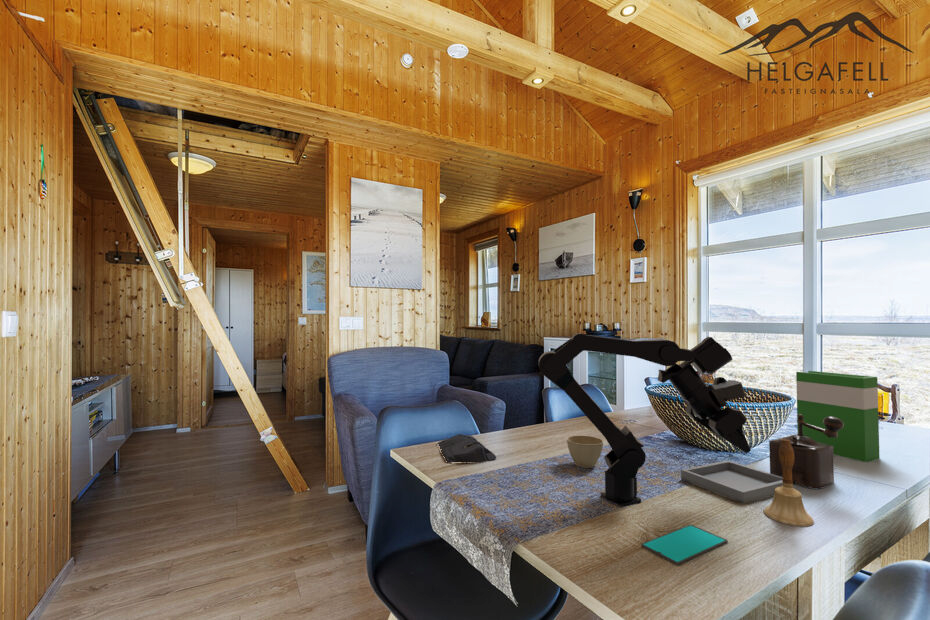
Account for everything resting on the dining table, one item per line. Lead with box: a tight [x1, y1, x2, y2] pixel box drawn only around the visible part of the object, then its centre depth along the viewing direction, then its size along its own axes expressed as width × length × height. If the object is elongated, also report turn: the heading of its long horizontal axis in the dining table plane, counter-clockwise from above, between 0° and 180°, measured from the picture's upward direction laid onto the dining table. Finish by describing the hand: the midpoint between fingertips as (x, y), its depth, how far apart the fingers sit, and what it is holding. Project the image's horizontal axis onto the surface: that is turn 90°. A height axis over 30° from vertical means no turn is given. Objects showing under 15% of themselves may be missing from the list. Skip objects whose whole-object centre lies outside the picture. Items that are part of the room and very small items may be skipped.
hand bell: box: [763, 439, 815, 527], centre depth 89 cm, size 8×8×16 cm
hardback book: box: [795, 370, 881, 463], centre depth 134 cm, size 18×7×24 cm, turn 23°
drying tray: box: [680, 460, 783, 505], centre depth 107 cm, size 18×16×2 cm
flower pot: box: [566, 434, 604, 469], centre depth 122 cm, size 10×10×7 cm
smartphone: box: [640, 524, 729, 567], centre depth 78 cm, size 7×1×15 cm
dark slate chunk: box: [437, 433, 497, 463], centre depth 134 cm, size 15×22×5 cm
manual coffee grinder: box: [768, 414, 844, 490], centre depth 108 cm, size 16×11×18 cm
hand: (738, 445), depth 94 cm, fingers open, 9 cm apart
